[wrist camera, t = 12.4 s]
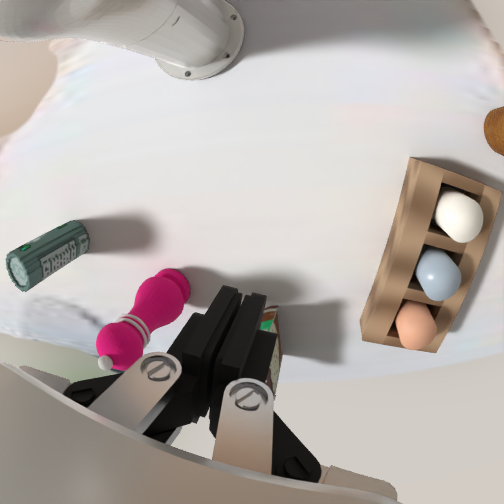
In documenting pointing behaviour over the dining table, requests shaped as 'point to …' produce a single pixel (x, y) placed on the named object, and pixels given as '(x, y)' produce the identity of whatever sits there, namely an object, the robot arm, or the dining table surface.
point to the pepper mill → (142, 319)
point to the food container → (273, 325)
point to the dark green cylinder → (46, 254)
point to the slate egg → (437, 273)
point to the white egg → (457, 215)
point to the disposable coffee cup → (495, 130)
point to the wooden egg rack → (409, 247)
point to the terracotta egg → (415, 324)
